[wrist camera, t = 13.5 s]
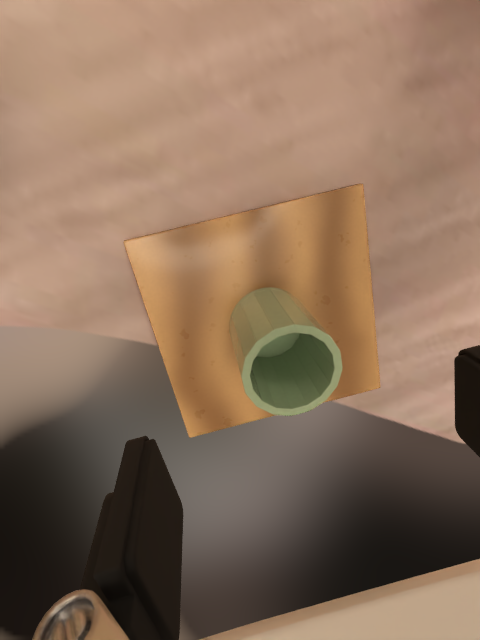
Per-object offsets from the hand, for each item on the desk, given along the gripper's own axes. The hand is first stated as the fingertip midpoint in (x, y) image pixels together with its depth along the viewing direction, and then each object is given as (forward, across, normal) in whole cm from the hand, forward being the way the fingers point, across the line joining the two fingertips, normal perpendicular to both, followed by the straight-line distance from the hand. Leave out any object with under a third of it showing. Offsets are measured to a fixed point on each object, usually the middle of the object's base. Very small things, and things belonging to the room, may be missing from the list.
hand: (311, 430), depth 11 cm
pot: (+22, -1, +6) cm, 23 cm away
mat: (+22, -1, +6) cm, 23 cm away
